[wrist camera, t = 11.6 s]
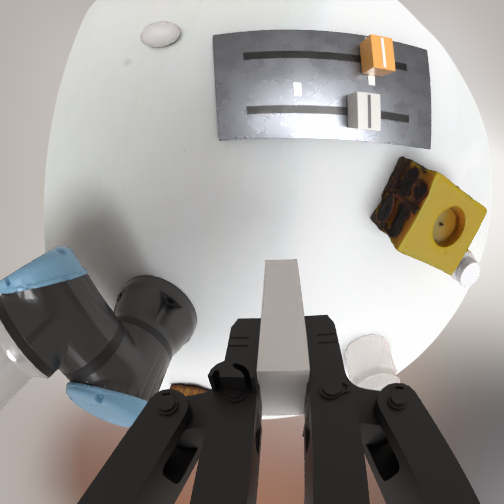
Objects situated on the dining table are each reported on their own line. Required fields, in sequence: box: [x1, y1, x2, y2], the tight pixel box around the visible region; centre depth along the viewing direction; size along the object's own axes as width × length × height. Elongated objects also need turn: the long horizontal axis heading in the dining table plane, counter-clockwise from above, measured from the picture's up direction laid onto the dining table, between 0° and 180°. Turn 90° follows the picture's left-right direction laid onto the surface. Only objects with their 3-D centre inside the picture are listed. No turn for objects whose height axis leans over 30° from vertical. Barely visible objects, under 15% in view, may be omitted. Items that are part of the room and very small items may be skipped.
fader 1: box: [359, 34, 396, 76], centre depth 21 cm, size 2×4×5 cm, turn 3°
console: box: [213, 30, 431, 149], centre depth 26 cm, size 27×14×2 cm, turn 93°
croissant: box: [170, 384, 209, 396], centre depth 56 cm, size 14×7×5 cm, turn 84°
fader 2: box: [347, 92, 381, 131], centre depth 24 cm, size 2×4×5 cm, turn 3°
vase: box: [345, 334, 400, 391], centre depth 41 cm, size 9×9×12 cm
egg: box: [140, 21, 180, 47], centre depth 24 cm, size 4×6×4 cm, turn 81°
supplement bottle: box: [451, 249, 480, 287], centre depth 31 cm, size 5×5×8 cm
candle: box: [371, 157, 487, 275], centre depth 28 cm, size 10×10×10 cm
